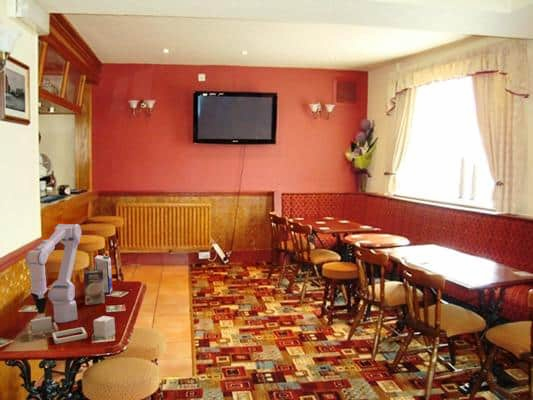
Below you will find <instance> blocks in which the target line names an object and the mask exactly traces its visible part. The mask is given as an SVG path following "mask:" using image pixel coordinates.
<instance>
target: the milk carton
mask: <svg viewBox="0 0 533 400" xmlns="http://www.w3.org/2000/svg"><path fill="white" fill-rule="evenodd" d="M94 266H95V267H94V268H95V269H94V270H101V269H103V281H104V295H111V294H112V292H113V278H112V276H113V275H112V260H111V257H109V256H108V255H99V254H98V255H97V256H95V257H94ZM111 291H112V292H111Z"/></svg>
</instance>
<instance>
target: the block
mask: <svg viewBox="0 0 533 400" xmlns="http://www.w3.org/2000/svg"><path fill="white" fill-rule="evenodd" d="M30 322H31V331H32V333H38V332H44V331H48V330H52V327H53V322H52V316H45V317H41V318H36V319H35V318H34V319H31V320H30Z"/></svg>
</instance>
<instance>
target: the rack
mask: <svg viewBox="0 0 533 400" xmlns="http://www.w3.org/2000/svg"><path fill="white" fill-rule="evenodd" d="M52 330H55V332H59V327H58V325H57V322H55V321H54V322H52ZM26 332H27V337H28V338H27V339H28V340H29V342H32V341H34V340H33V338H32V329H31V327H30V326H26ZM51 337H52V336H51ZM51 337H50V338H51ZM46 338H49V337H46ZM46 338H45V333H44V332H43V338H41V339H46ZM52 338H53V337H52ZM41 339H40V340H41ZM37 340H38V341H39V339H36V340H35V341H37Z"/></svg>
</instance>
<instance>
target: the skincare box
mask: <svg viewBox="0 0 533 400" xmlns="http://www.w3.org/2000/svg"><path fill="white" fill-rule="evenodd" d="M92 322H93V334H94V335H93V336H94V337H102V338H110V337H112V336H114V335H115V334H116V325H115V317H114V316H106V315H102V316H99V317H98V318H95V319H94V320H93V321H92Z"/></svg>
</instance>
